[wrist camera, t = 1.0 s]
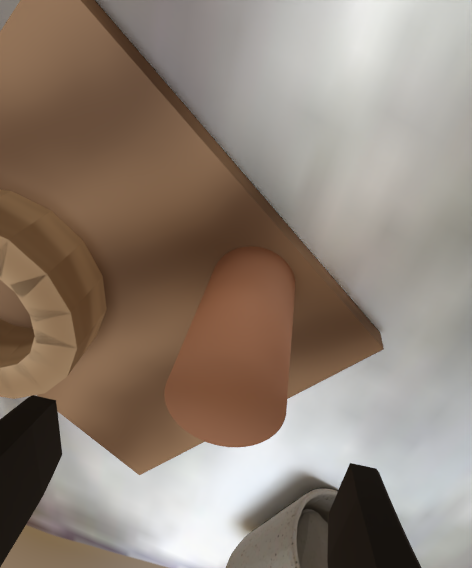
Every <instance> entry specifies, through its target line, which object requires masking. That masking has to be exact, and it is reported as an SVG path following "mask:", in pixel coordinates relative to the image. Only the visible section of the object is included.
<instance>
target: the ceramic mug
mask: <svg viewBox="0 0 472 568" xmlns="http://www.w3.org/2000/svg"><path fill="white" fill-rule="evenodd" d="M337 493H338V491H336V490H333V489H327V488H324V489H315V490H313V491H311V492H309V493H307V494H305V495H303V496H302V497H300V498H299V499H298V500H297V501H295V502H294V503H292V504H291V505H289V506H288V507H286V508H285V509H283V510H282V511H281V512H279V513H278V514H276V515H275V516H274V517H272V518H271V519H270V520H268V521H267V522H265V523H264V524H262V525H261V526H259V527H258V528H256V529H255V530H253V531H252V532H251V533H249V534H248V535H247V536H246V537H245V538H244V539H243V540H242V541H241V542H240V543H239V544H238V546H237V547H236V549H235V550H234V551H233V553H232V554H231V556H230V558H229V561H228V563H227V566H226V568H328V562H327V554H328V517H329V511H330V509H331V507H332V504H333V502H334V500H335V497H336V495H337Z"/></svg>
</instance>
